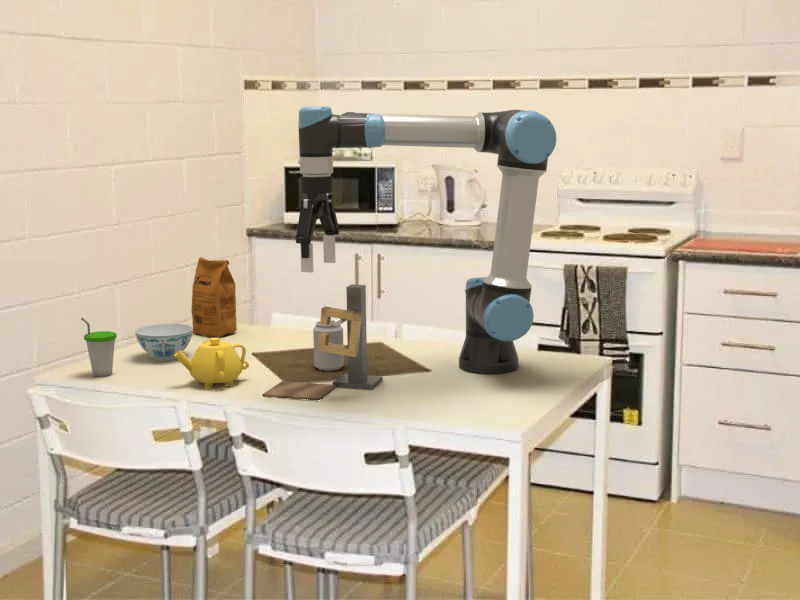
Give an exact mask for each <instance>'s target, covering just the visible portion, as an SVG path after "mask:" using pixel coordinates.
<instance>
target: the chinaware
mask: <svg viewBox="0 0 800 600" xmlns="http://www.w3.org/2000/svg"><path fill="white" fill-rule="evenodd" d="M134 333H135V337H136V340H137V342H138V345H140V347H141V349H143V351H145V352H146V353H147V354H148V355H150V356H152V359H153V360H154V361H158V362H160V361H161V362H163V361H164V362H166V361H173V360H178V359H177V358H176V357H175V356H174V355H175V354H176V353H177V352H178V351H179V350H181V351H182V352H183V351H184V350H185V349H186V348H187V347H188V346H189V344H190V342H191V339H192V336H193V325H189V324H184V323H175V322H174V323H167V322H166V323H155V324H148V325H144V326H140V327H138V328H136V329H135V330H134Z"/></svg>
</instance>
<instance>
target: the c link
mask: <svg viewBox="0 0 800 600" xmlns="http://www.w3.org/2000/svg"><path fill="white" fill-rule="evenodd" d="M332 318H336V319H338V318H340V319H346V320H352V321H351V331H350V341H349V346H348V345H344V344H343V345H339V344H333V343H328V342H329V333H324V332H322V333H321V334H319V342H318V351H324V352H329V353H335V354H340V355H344V356H346V357H348V356H351V357H356V356H357V355H358V349H359V339H360V329H361V319H362V313H361V312H355V311H349V310H347V309H343V308H336V307H330V306H323V307H322V308H321V311H320V320H319V321H320V324H321V325H326V326H327V325H328V324H330V320H332Z"/></svg>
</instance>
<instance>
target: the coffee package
mask: <svg viewBox="0 0 800 600" xmlns="http://www.w3.org/2000/svg"><path fill="white" fill-rule="evenodd" d="M228 265H230V261H229V260H227V259H219V260H218V259H217V260H216V259H215V260H209V259H206V258H204V257H202V256H200V257H199V258H198V260H197V265H196V269H195V274H194V278H193V283H192V291H191V292H192V294H191V309H190V311H191V318H192V327H193V333H192V335H202V336H204V337H206V338H207V337H209V338H210V337H211V338H221V337H223V336H225V335H227V334H232V333H235V332H236V331H237V330H238V328H237V314H236V313H237V305H236V304H237V297H236V282H235V279H234V277H233V275H232V273H231V271H230V268H229V266H228Z"/></svg>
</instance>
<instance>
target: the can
mask: <svg viewBox="0 0 800 600" xmlns="http://www.w3.org/2000/svg"><path fill="white" fill-rule="evenodd" d="M335 320H336V319H335ZM335 320H334V319H331V320H330V324H328V325H327V326H326V325H321V324H320V320H319V321H316V322H315V326H314V327H313V329H312V331H313V361H314V362H313V365H314V367H315V368H316V369H317V368H318V369H319V370H318V369H317V370H318V371H322V370H324V371H323V372H332V371H334V370H335V371H338V370H341V368H342V367H344V364H345V363H344V362H345V361H344V359H345V358H344V357H345V355H340V354H335V353H329V352H324V351H318V342H319V334H321V333H322V332H324V333H329V342H328V343H333V344H339V345H344V327H343V326H342V324H340V325H339V326H337V327H336V328H333V327H332V325H331V324H332V322H334V321H335Z"/></svg>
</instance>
